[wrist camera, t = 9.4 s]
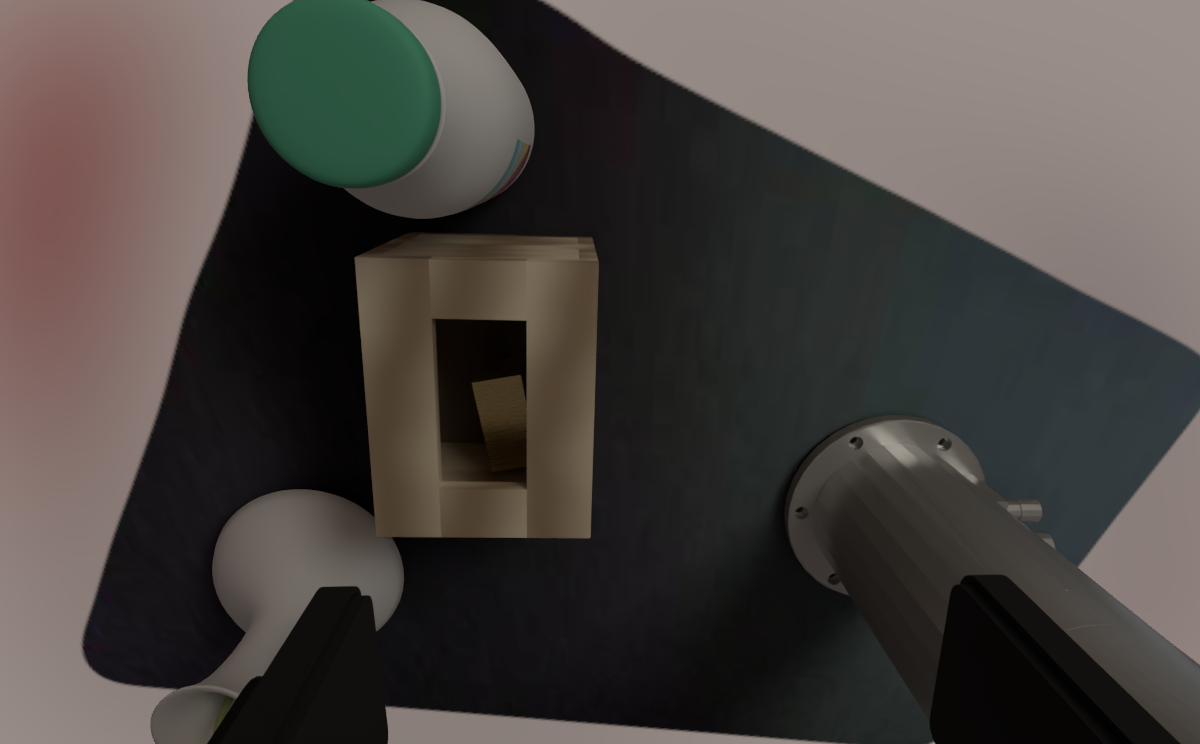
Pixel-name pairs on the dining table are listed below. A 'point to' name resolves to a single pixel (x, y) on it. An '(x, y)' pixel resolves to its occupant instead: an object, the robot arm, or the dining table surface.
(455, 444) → the box
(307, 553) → the flower in vase
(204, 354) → the dining table surface
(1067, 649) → the robot arm
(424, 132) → the milk bottle
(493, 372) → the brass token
